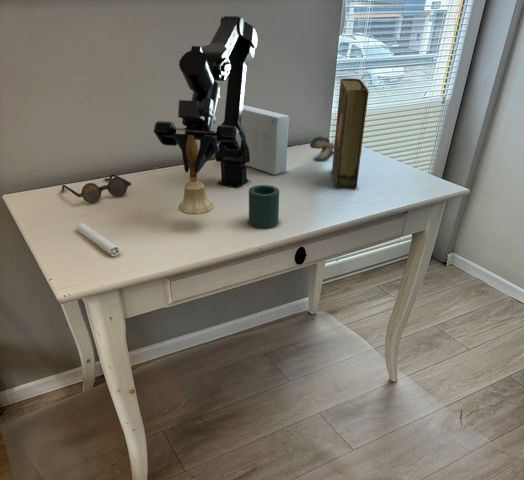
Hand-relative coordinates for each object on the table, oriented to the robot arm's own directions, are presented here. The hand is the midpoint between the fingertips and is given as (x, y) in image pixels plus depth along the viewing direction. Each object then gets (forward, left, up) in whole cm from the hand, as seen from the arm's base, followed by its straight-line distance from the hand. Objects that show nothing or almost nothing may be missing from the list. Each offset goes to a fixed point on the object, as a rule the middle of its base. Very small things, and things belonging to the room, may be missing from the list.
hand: (191, 171), depth 108 cm
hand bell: (-1, +1, -9) cm, 9 cm away
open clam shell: (+3, +67, -13) cm, 69 cm away
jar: (+12, +11, -13) cm, 21 cm away
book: (+17, +50, -13) cm, 55 cm away
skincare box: (-11, +48, -13) cm, 51 cm away
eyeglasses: (-37, +5, -13) cm, 40 cm away
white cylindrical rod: (-15, -17, -13) cm, 26 cm away
